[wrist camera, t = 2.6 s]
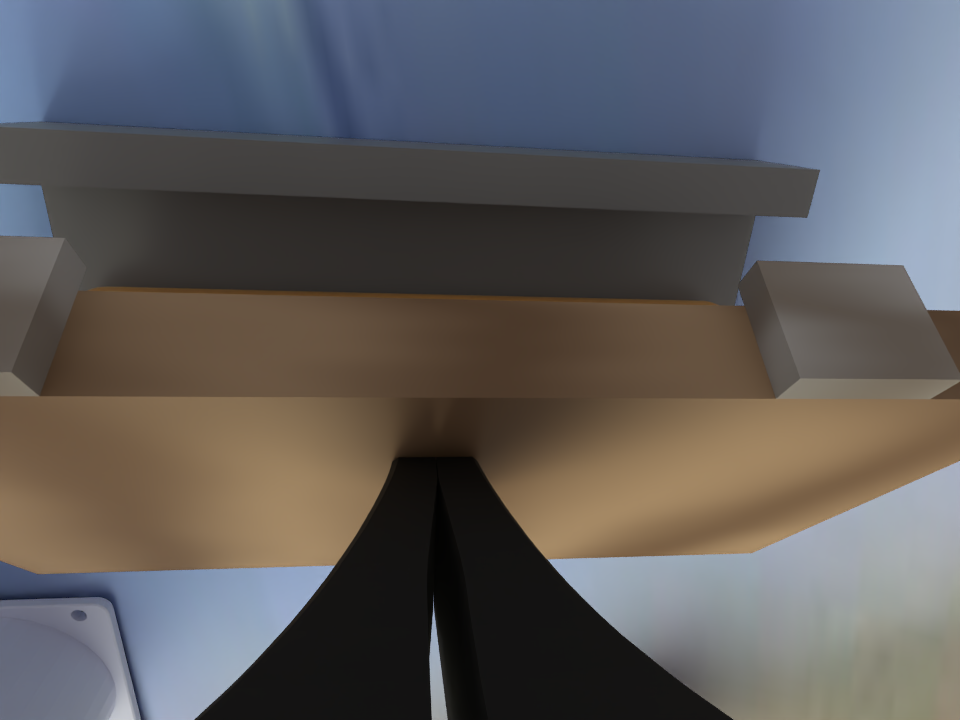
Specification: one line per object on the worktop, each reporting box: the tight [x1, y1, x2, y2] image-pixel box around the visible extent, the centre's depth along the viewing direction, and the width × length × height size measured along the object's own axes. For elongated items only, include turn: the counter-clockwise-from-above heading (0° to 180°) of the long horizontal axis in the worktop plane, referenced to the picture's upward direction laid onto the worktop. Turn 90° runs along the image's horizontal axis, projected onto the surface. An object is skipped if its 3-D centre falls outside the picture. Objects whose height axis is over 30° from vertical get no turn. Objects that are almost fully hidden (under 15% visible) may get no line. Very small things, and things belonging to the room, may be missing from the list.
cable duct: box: [0, 122, 820, 306], centre depth 17 cm, size 20×10×3 cm, turn 87°
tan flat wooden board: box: [0, 236, 960, 574], centre depth 12 cm, size 20×11×2 cm
